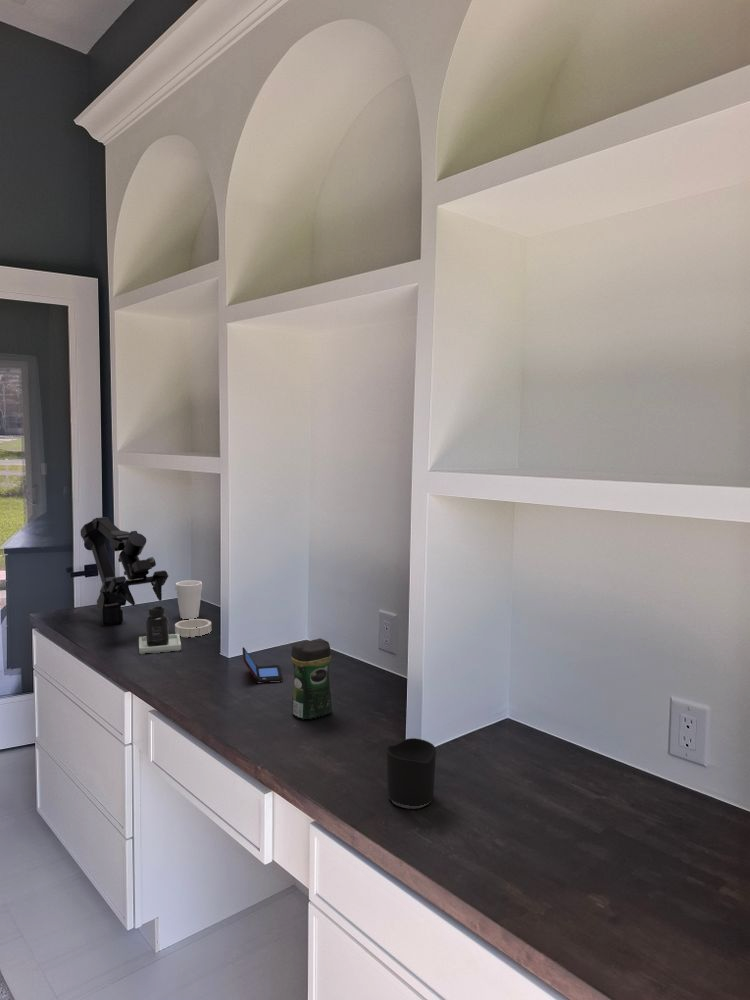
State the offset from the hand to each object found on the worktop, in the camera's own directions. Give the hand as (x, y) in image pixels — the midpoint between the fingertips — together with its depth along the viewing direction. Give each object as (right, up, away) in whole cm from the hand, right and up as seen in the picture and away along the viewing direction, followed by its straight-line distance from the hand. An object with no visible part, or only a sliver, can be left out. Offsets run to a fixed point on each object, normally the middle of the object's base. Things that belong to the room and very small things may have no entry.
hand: (147, 602), depth 232 cm
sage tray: (+5, -14, -4) cm, 15 cm away
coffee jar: (+59, -20, -56) cm, 84 cm away
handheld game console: (+42, -17, -30) cm, 55 cm away
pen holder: (+81, -24, -96) cm, 128 cm away
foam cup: (+6, -10, +31) cm, 33 cm away
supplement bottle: (+5, -13, -5) cm, 15 cm away
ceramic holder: (+12, -12, +12) cm, 21 cm away
